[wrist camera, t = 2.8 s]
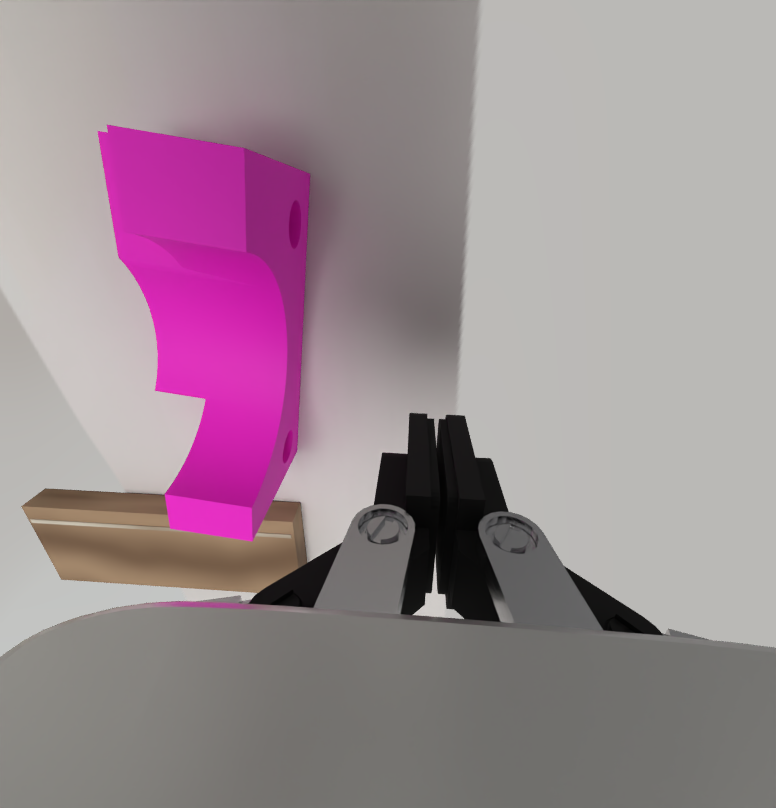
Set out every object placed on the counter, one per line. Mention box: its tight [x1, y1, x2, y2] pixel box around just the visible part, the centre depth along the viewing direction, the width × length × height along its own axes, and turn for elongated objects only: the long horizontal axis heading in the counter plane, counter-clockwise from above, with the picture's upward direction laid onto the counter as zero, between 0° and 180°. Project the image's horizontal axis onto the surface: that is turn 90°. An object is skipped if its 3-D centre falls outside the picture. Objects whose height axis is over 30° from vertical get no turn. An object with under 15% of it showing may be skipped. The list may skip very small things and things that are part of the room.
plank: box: [22, 489, 307, 593], centre depth 27 cm, size 7×18×2 cm, turn 89°
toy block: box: [98, 125, 310, 542], centre depth 17 cm, size 15×6×8 cm, turn 171°
